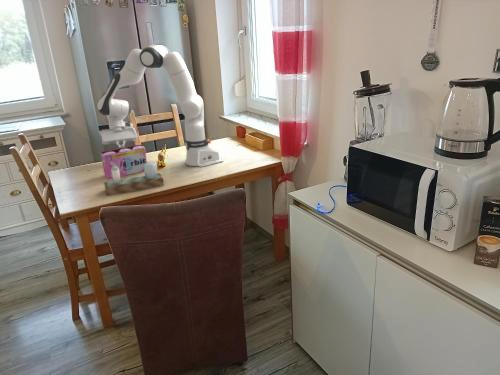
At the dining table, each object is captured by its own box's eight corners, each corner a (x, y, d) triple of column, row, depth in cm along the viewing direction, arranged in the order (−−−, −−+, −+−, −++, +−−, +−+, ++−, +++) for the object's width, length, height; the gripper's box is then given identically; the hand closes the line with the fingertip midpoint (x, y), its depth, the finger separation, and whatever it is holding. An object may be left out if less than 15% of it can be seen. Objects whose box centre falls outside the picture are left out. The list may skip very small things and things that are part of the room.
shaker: (120, 180, 199) (117, 164, 196) (121, 183, 196) (118, 166, 193) (113, 181, 198) (110, 165, 195) (113, 184, 195) (111, 167, 192)
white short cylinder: (156, 173, 207) (155, 161, 205) (159, 177, 202) (157, 164, 199) (144, 175, 205) (142, 163, 202) (146, 179, 199) (144, 166, 197)
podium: (160, 180, 210) (159, 172, 209) (164, 185, 203) (163, 177, 202) (105, 189, 200) (103, 182, 198) (106, 195, 193) (105, 187, 192)
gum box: (145, 166, 232) (142, 143, 227) (150, 169, 226) (147, 147, 221) (104, 175, 220) (99, 151, 215) (108, 179, 214) (103, 155, 209)
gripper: (98, 127, 229) (102, 147, 224) (134, 123, 236) (139, 142, 232) (99, 133, 235) (103, 153, 230) (134, 128, 242) (139, 148, 237)
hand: (121, 148), depth 231 cm, fingers closed
